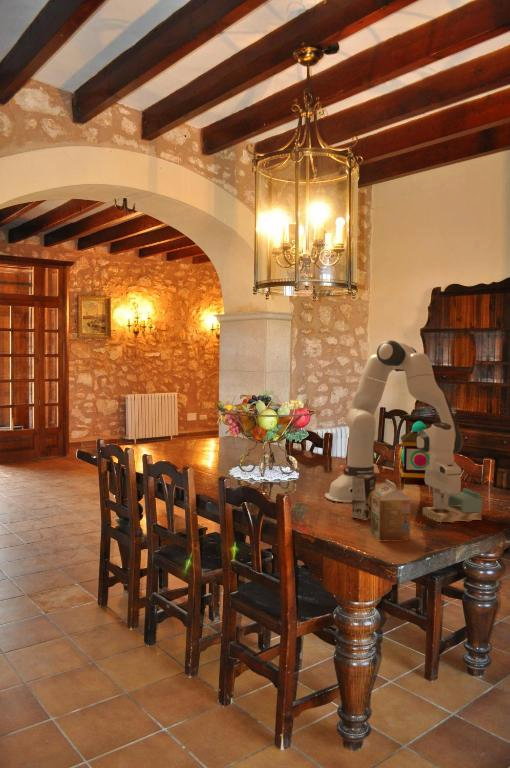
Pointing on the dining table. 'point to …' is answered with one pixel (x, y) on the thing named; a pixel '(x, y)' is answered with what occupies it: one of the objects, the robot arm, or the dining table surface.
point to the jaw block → (439, 500)
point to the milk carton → (390, 513)
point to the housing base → (450, 514)
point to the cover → (467, 501)
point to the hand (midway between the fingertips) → (441, 501)
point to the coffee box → (362, 495)
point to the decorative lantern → (412, 455)
